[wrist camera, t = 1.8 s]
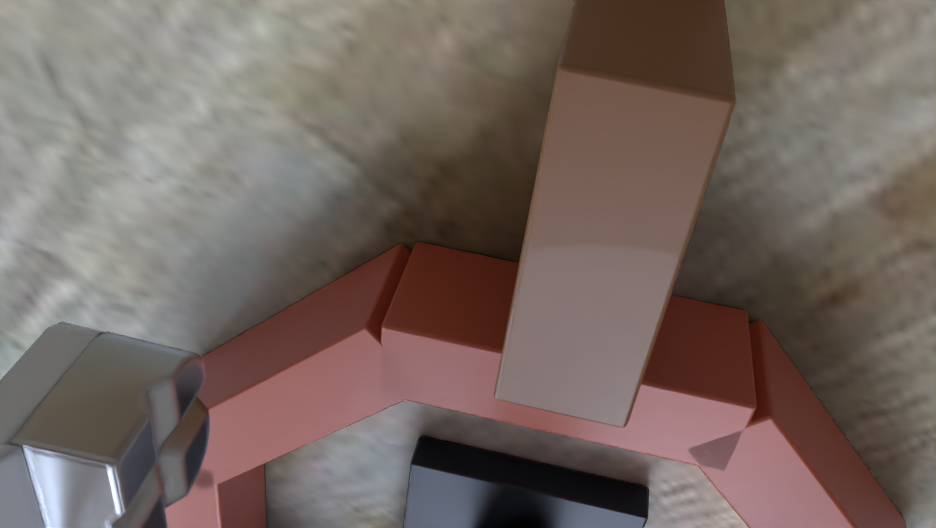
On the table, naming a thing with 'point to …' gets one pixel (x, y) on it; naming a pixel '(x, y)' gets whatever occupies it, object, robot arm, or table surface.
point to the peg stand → (512, 493)
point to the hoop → (560, 309)
